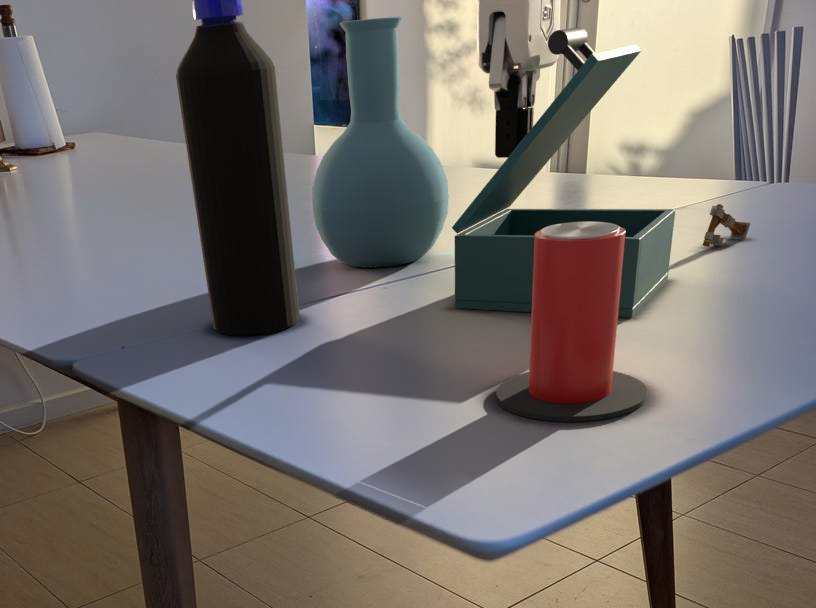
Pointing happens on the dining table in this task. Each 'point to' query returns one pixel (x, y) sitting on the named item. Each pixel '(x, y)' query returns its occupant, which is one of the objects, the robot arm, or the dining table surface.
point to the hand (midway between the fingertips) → (513, 155)
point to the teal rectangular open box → (514, 256)
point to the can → (575, 311)
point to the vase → (378, 164)
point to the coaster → (619, 402)
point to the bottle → (237, 173)
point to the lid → (551, 122)
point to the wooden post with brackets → (720, 217)
